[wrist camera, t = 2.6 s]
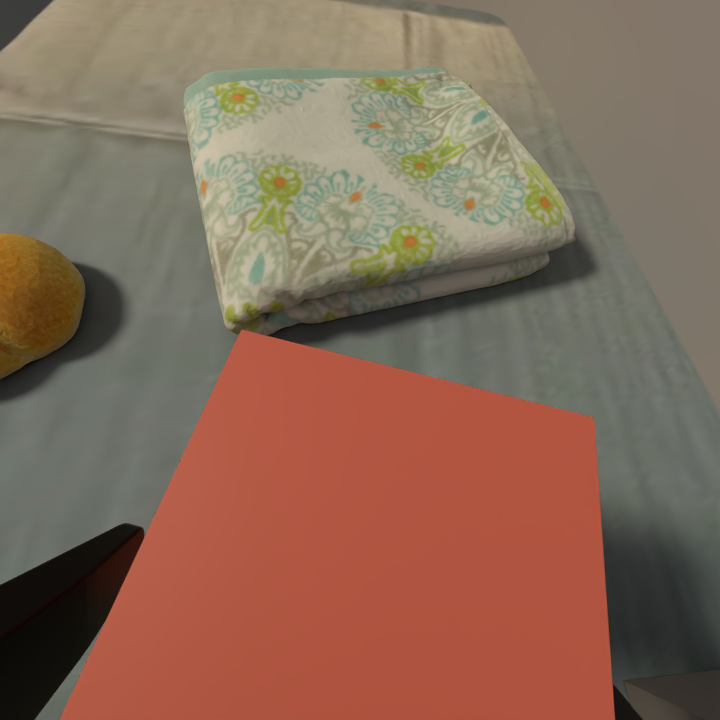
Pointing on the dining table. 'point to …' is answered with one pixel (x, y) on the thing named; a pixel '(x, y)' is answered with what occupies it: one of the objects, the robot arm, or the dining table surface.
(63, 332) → the bread roll
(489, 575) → the red block
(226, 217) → the towel
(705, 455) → the dining table surface
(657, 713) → the gray block
